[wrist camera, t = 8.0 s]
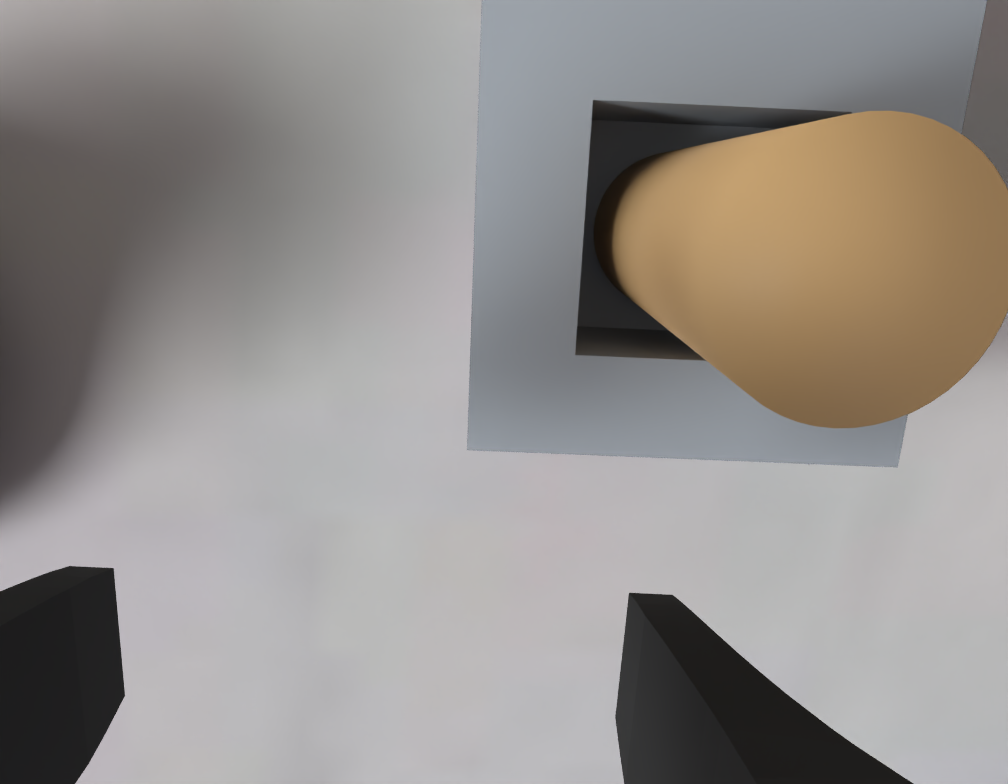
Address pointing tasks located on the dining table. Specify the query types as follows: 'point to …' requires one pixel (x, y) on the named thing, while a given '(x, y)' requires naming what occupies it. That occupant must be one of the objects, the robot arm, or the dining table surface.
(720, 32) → the socket block
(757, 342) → the peg
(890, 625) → the dining table surface
